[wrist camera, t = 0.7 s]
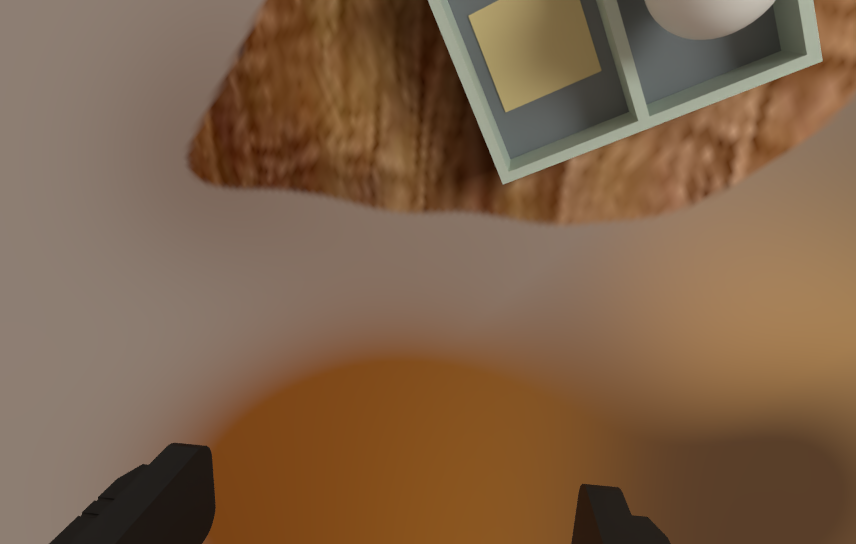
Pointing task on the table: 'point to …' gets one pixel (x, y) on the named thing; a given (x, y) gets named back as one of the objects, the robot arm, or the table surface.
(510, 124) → the tray
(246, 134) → the table surface
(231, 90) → the table surface
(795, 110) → the table surface
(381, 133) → the table surface
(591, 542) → the robot arm
